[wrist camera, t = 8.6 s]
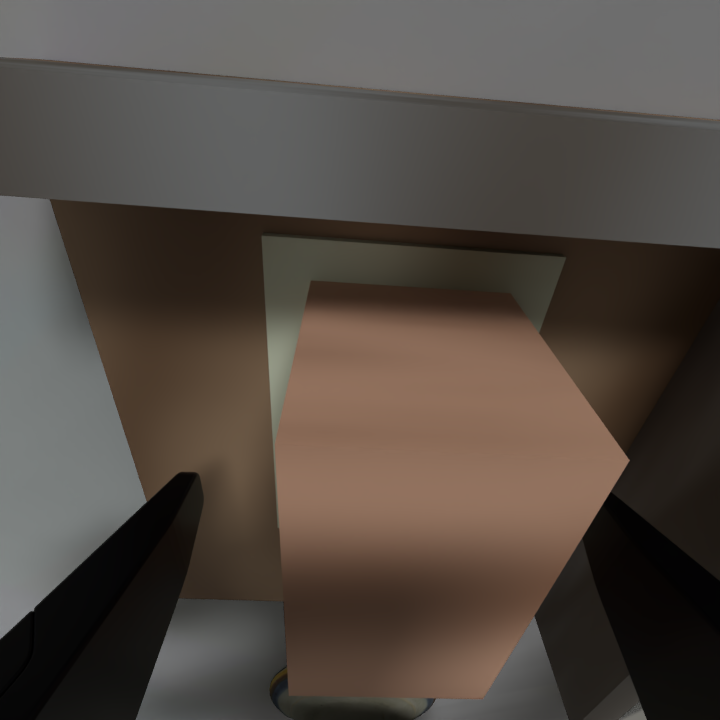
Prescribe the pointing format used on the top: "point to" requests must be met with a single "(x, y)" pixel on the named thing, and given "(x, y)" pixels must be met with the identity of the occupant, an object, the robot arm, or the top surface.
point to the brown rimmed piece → (379, 282)
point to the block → (426, 488)
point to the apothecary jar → (344, 705)
